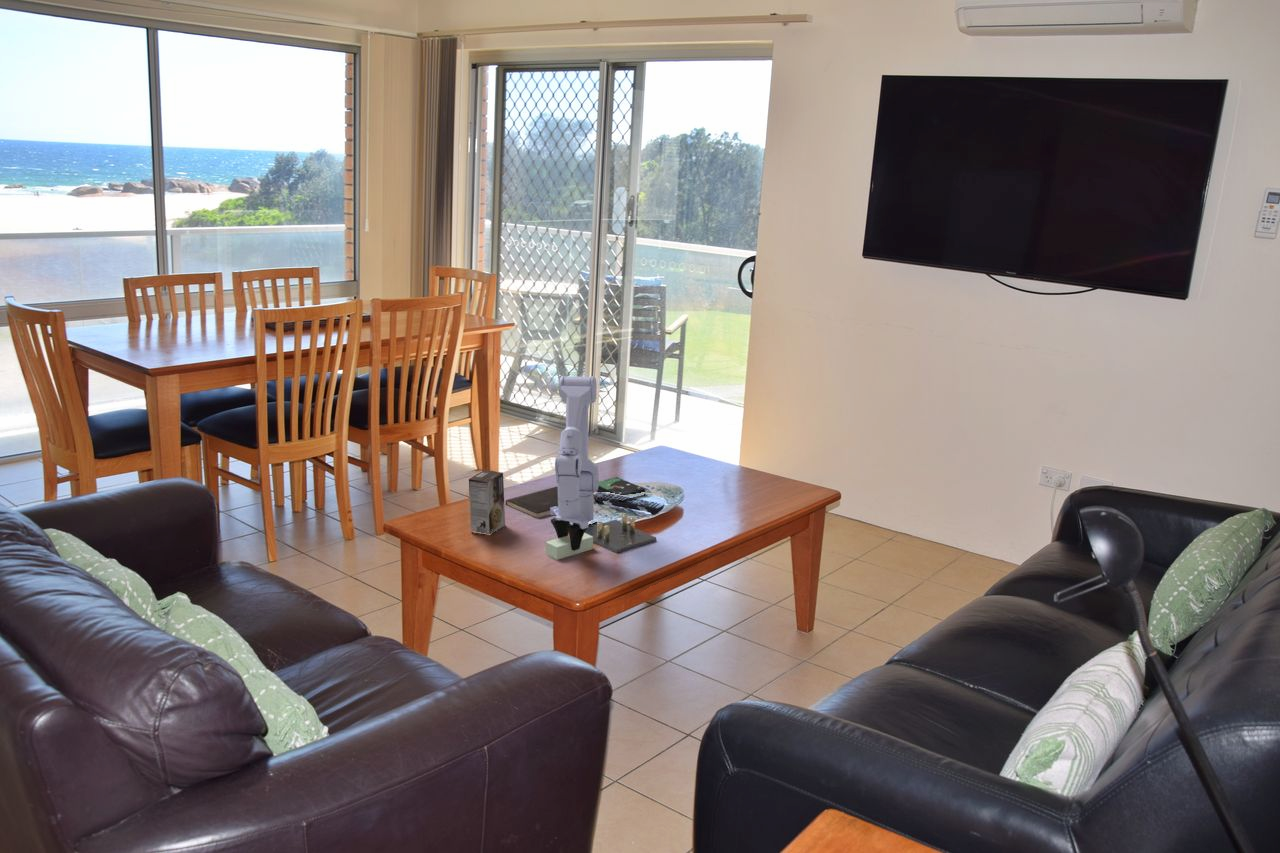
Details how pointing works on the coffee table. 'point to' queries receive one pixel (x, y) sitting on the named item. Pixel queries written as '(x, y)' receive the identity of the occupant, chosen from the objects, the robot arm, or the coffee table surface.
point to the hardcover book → (536, 502)
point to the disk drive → (619, 487)
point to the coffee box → (487, 501)
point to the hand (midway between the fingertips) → (569, 546)
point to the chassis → (619, 535)
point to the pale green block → (567, 546)
